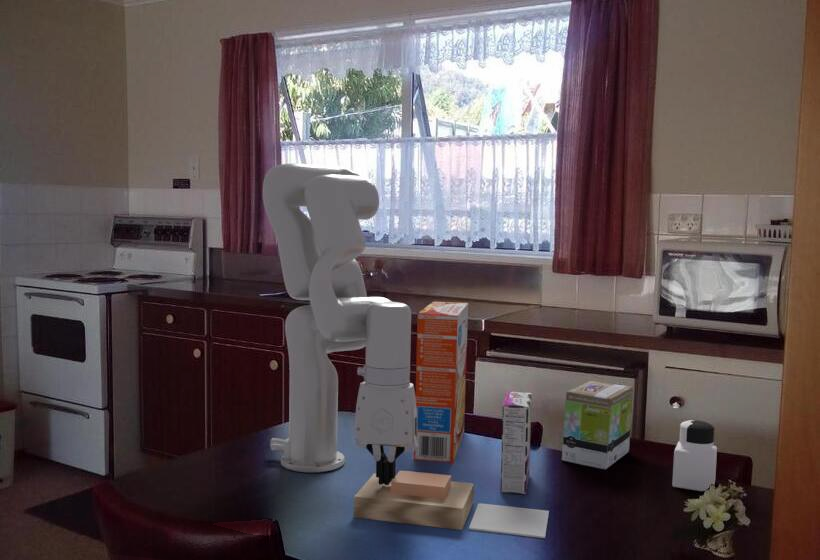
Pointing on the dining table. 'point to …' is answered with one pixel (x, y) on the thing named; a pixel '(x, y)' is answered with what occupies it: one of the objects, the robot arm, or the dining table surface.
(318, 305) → the robot arm
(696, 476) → the medicine bottle
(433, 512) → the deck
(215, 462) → the dining table surface
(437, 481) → the block
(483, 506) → the mat
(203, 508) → the dining table surface
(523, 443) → the candy bar box
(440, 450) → the pasta box
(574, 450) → the tea box
